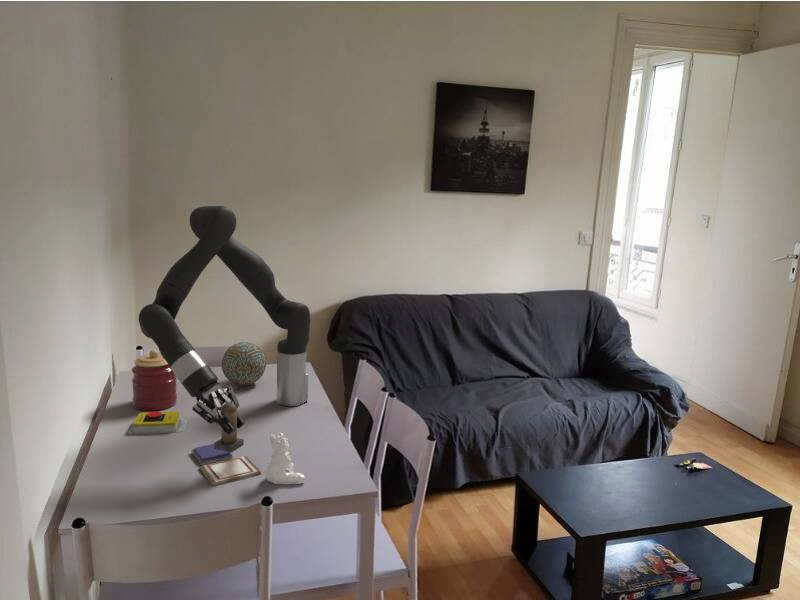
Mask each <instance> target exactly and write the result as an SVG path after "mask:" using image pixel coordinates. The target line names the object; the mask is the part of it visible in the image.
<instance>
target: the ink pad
mask: <svg viewBox="0 0 800 600" xmlns="http://www.w3.org/2000/svg"><path fill="white" fill-rule="evenodd" d="M190 452H191V455H192V456H193V457H194V459H195V460H196V461H197V462H198V463H199V465H200V466H204V465H208V464H212V463H217V462H221V461H225V460H230V459H233V454H232V453H230V452H226V451H222V450H218V449H214V443H211V444H206V445H202V446H201V445H200V446H196V447H193V449H191V451H190Z"/></svg>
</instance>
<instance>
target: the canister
mask: <svg viewBox="0 0 800 600" xmlns="http://www.w3.org/2000/svg"><path fill="white" fill-rule="evenodd" d="M133 364H135V365H134V366H132V368H131V372H132V373H133V376H132V379H131V382H132V403H133V407H134V408H135V409H137V410H139V411H145V410H146V412H155V411H161V410H166V409H168V408H171V407H174V406H175V405H176V404H177V401H178V393H177V379H178V378H177V377H176V375H175V374H174V372H173V370H172V369H171V367H170V366H169V364H168V363H167V362H166V360H165V359H164V358H163V356H162V355H161V353H160V352H159V351H158V350H157V349H151V350H150V351H149V353H146V354H143V355H141V356H139V357H138V358H136V359H135V360H134V362H133Z"/></svg>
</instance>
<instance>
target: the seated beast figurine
mask: <svg viewBox="0 0 800 600" xmlns="http://www.w3.org/2000/svg"><path fill="white" fill-rule="evenodd" d="M288 440H289V439H288V437H287V438H286V437H285V435H284V433H282V432H281V431H280V432H277V433H275V434H270V437H269V441H270V445H271V448H272V449H273V453H272V454H271V456H270V460H269V463H268V465H267V467H266V470H264V476H265V478H266V480H267V481H268V482H270V483H271V484H273V483H274V485H276V484H277V485H279V484H281V485H285V484H284V483H299V482H304V483H305V481H306V480H305V474H302V473H301V472H294V468H295V465H294V462H292V461H291V460H292V458H291V456H290V453H289V450H288V449H289V448H290V444H289V441H288Z"/></svg>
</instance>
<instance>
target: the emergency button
mask: <svg viewBox="0 0 800 600" xmlns="http://www.w3.org/2000/svg"><path fill="white" fill-rule="evenodd" d="M188 421H189V420H188V419H187V418H181V413H180V412H179V411H158V410H155V411H146V412H145V411H144V412H139V413H138V415H137V417H136V418H135V420H134V421H133V422H132V424H131V426H130V428H129V429H128V431H127V434H128V435H129V434H130V435H134V434H133V433H143V434H166V433H167V434H168V433H184V432H185V430H186V427H187V425H188Z"/></svg>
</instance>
